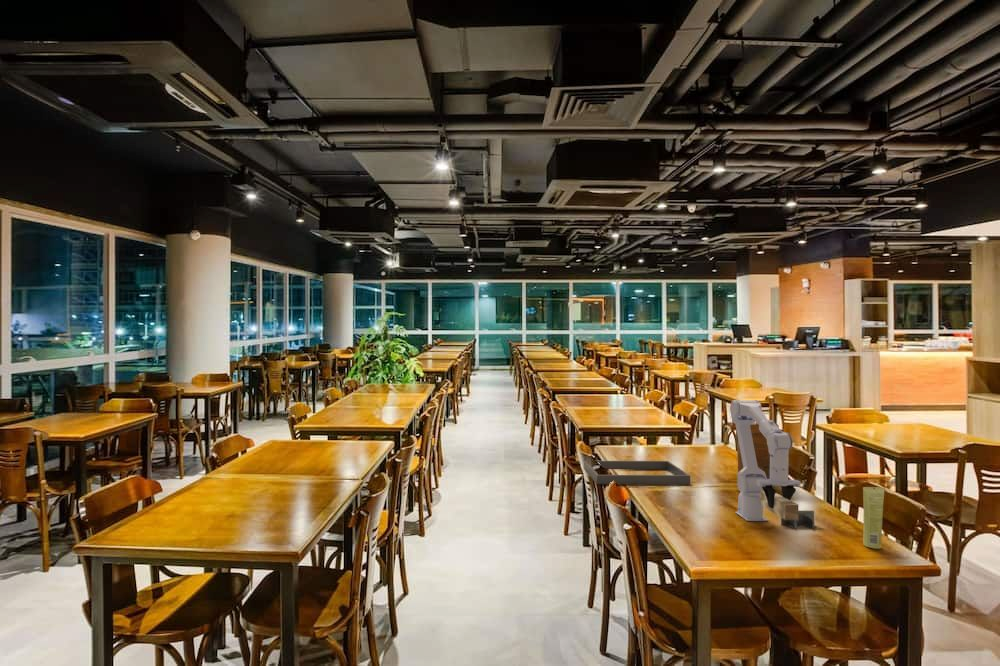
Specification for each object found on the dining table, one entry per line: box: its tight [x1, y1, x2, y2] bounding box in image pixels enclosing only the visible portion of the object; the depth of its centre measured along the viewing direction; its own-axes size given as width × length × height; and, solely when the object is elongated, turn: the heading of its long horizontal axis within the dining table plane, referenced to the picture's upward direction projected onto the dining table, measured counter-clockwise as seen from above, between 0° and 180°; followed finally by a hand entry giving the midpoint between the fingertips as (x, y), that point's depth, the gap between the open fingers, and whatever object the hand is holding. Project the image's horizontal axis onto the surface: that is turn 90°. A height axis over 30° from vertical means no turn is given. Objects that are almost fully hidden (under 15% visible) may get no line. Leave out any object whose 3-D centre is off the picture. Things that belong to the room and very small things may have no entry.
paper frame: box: [583, 460, 691, 485], centre depth 268 cm, size 28×43×4 cm, turn 93°
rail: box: [760, 491, 799, 520], centre depth 194 cm, size 16×4×5 cm, turn 3°
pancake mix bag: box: [736, 423, 780, 479], centre depth 258 cm, size 7×19×28 cm, turn 88°
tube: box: [862, 486, 885, 550], centre depth 185 cm, size 6×5×20 cm
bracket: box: [780, 510, 815, 530], centre depth 202 cm, size 5×12×5 cm, turn 93°
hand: (778, 507), depth 194 cm, fingers closed on rail, 4 cm apart
